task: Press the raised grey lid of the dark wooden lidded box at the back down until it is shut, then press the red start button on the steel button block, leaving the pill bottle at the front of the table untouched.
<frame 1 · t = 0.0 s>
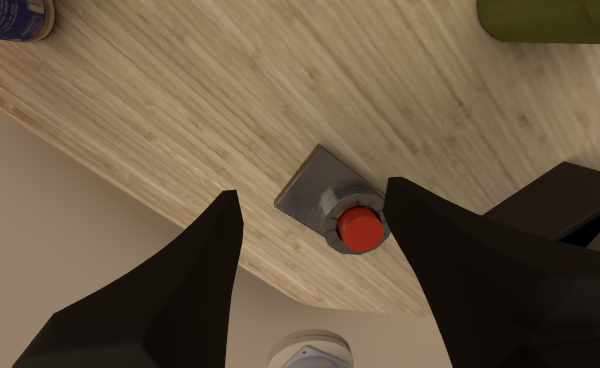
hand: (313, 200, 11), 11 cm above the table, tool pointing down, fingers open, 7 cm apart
pill bottle: (17, 0, 16), on the table
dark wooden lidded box: (533, 226, 27), on the table
button block: (335, 200, 24), on the table
start button: (360, 229, 21), point 4 cm above the table, slide at 0.1 cm
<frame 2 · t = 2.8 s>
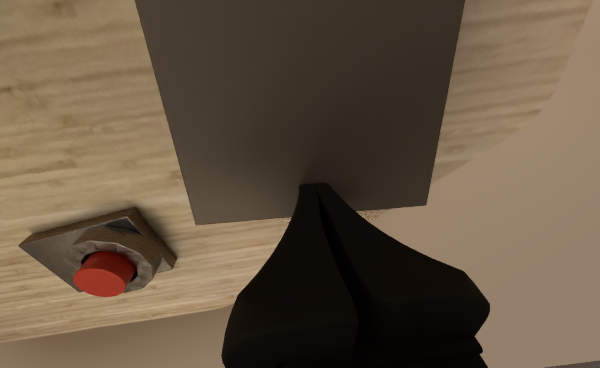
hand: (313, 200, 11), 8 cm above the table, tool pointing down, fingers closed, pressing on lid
lid: (309, 93, 10), point 7 cm above the table, hinge at 8.4°, touching gripper
button block: (109, 247, 23), on the table
start button: (106, 274, 20), point 4 cm above the table, slide at 0.1 cm
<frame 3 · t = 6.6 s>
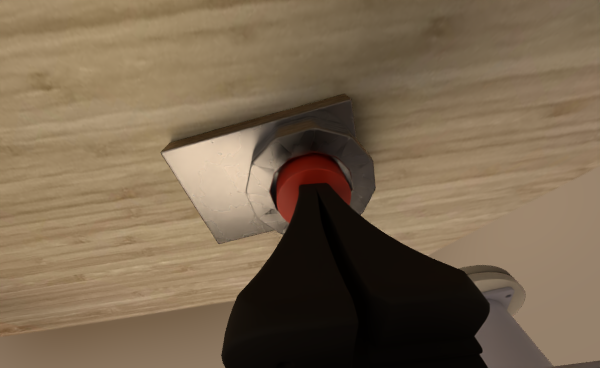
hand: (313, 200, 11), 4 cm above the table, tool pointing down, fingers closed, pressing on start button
button block: (274, 172, 15), on the table
start button: (312, 191, 12), point 3 cm above the table, slide at -0.4 cm, touching gripper
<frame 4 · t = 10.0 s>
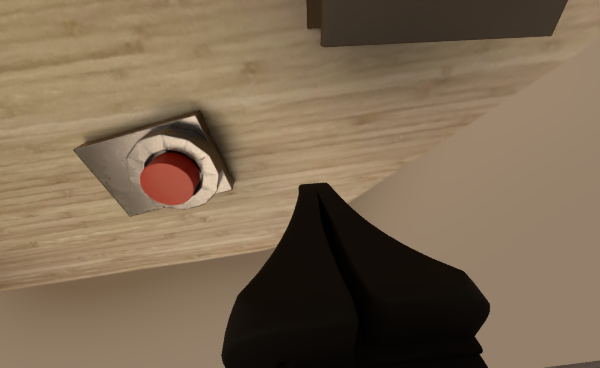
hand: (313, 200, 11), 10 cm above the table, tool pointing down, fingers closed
button block: (165, 164, 21), on the table
start button: (171, 179, 18), point 4 cm above the table, slide at 0.1 cm
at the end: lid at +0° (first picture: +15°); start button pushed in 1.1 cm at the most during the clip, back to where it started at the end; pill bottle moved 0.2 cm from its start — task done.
